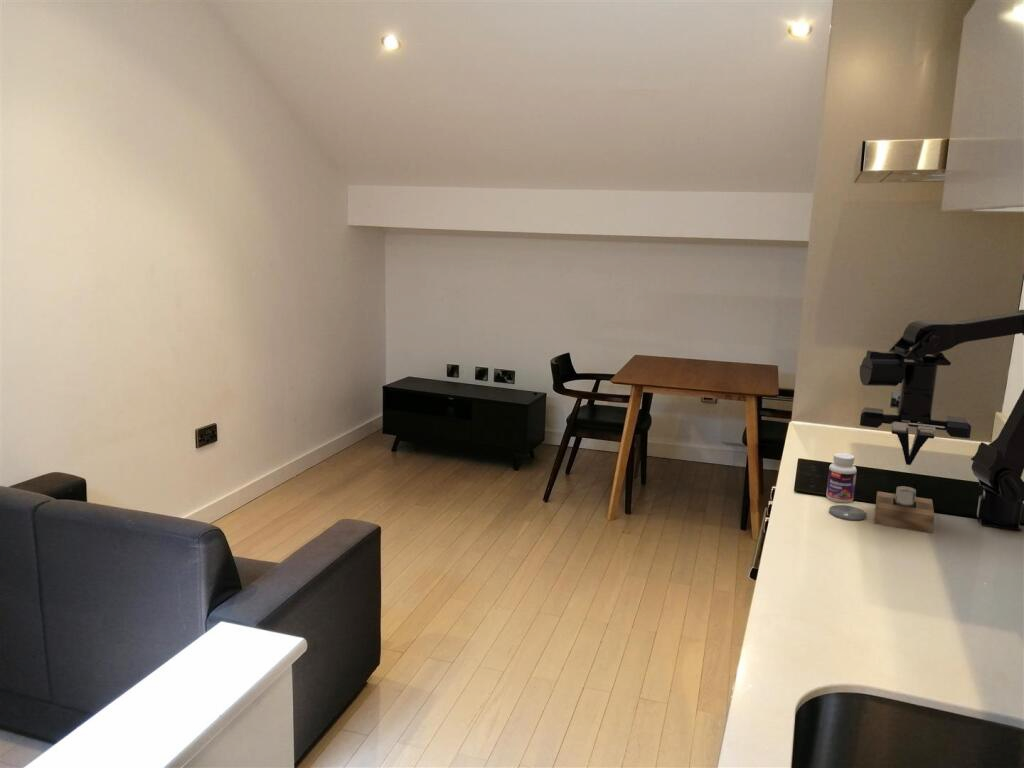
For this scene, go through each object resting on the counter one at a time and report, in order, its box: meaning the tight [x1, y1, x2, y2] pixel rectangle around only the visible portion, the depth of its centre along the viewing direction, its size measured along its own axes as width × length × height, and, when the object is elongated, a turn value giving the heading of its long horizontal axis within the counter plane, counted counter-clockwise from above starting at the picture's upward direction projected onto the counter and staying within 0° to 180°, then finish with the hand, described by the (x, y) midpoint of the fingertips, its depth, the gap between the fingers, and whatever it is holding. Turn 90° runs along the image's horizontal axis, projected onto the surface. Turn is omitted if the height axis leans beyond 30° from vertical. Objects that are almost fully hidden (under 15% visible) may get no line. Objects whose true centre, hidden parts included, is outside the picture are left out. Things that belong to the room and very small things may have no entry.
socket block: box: [873, 490, 935, 534], centre depth 147 cm, size 10×10×4 cm
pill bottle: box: [826, 452, 858, 503], centre depth 158 cm, size 5×5×10 cm
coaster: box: [828, 504, 867, 522], centre depth 150 cm, size 7×7×1 cm
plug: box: [895, 485, 917, 508], centre depth 146 cm, size 3×3×6 cm
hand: (908, 464), depth 145 cm, fingers closed
